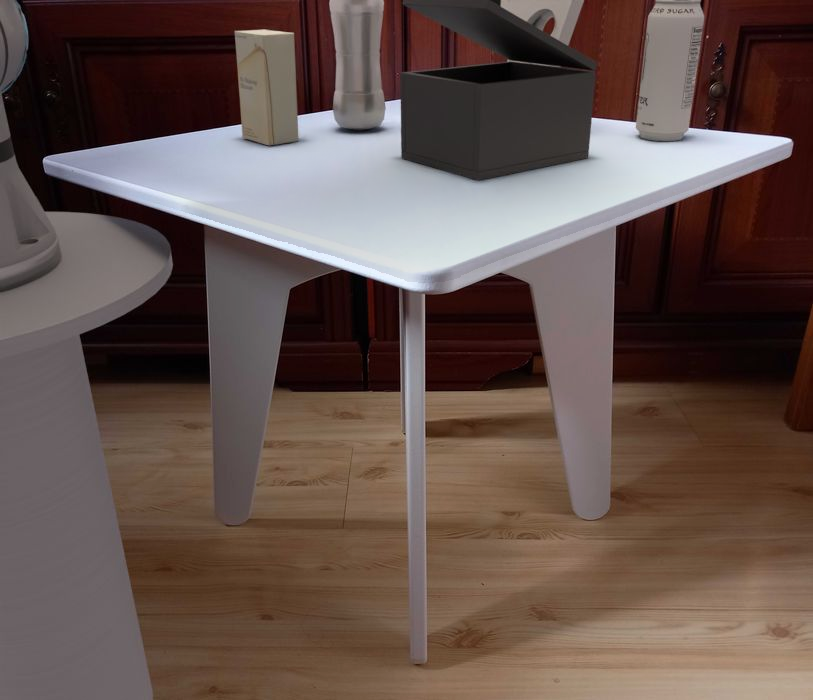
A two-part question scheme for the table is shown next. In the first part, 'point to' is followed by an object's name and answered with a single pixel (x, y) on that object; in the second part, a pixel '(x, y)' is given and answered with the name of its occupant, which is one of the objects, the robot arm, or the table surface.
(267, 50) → the cosmetic box
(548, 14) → the phone holder
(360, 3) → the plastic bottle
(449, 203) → the table surface
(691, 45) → the energy drink can
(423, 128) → the open lidded box
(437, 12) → the box lid
